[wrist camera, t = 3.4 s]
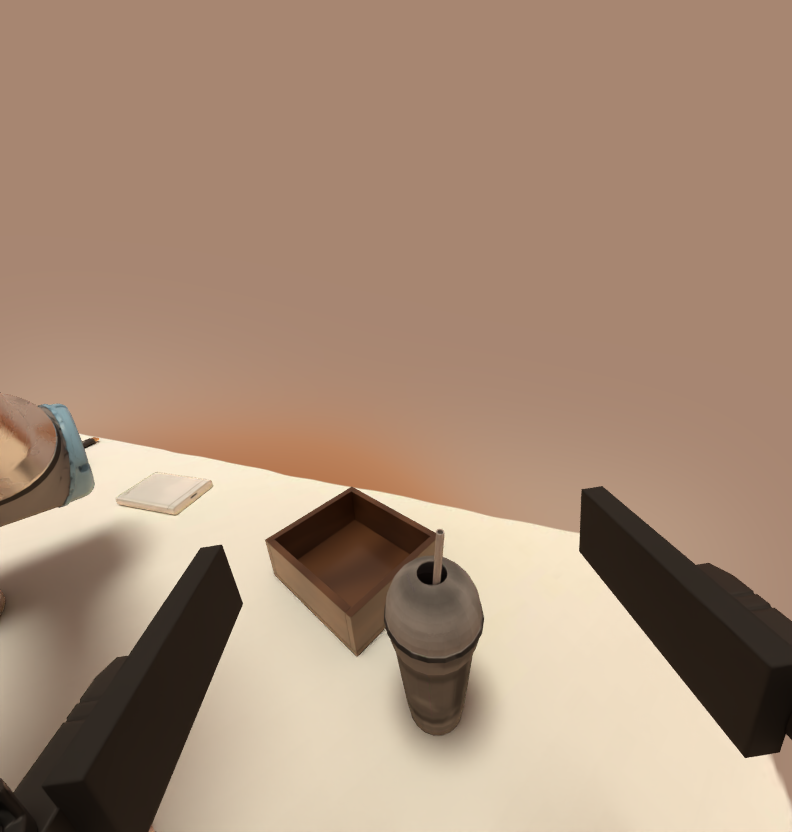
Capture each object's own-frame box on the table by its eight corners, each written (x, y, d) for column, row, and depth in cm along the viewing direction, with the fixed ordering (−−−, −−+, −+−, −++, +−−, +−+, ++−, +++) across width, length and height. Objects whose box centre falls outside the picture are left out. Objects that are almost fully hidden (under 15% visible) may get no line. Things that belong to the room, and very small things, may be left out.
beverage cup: (448, 647, 36) (447, 475, 28) (497, 725, 30) (515, 535, 21) (380, 684, 33) (356, 506, 25) (419, 778, 27) (405, 585, 19)
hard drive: (114, 497, 60) (172, 507, 57) (156, 470, 67) (210, 478, 64) (118, 505, 61) (175, 516, 57) (159, 478, 68) (213, 486, 64)
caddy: (274, 574, 45) (264, 539, 43) (356, 517, 54) (351, 486, 52) (357, 657, 35) (350, 617, 33) (440, 570, 44) (440, 535, 42)
